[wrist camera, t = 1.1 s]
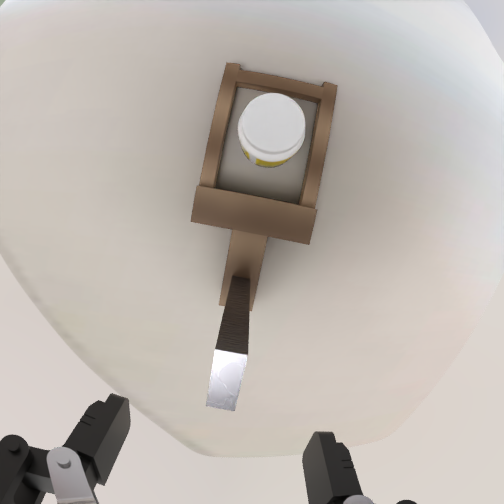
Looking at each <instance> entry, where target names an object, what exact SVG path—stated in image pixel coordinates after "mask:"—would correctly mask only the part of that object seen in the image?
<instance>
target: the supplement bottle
mask: <svg viewBox="0 0 504 504" xmlns="http://www.w3.org/2000/svg"><path fill="white" fill-rule="evenodd" d="M238 137H239V140H240V143H241V146H242V150H243V152H244V154H245V155H246V157H247V158H248V159H249V160H250V161H251V162H252V163H254V164H256V165H258V166H261V167H265V168H272V167H277V166H279V165H282V164H283V163H285V162H286V161H287V160H288V159H290V158H291V157H292V156H293V155H294V154H295V153H296V152H297V151H298V150H299V149H300V147H301V146H302V144H303V141H304V138H305V117H304V114H303V111H302V109H301V108H300V106H299V105H298V104H297V103H296V102H295V101H294V100H293V99H291V98H290V97H288V96H286V95H283V94H279V93H266V94H262V95H260V96H258V97H256V98H254V99H253V100H252V101H251V102H250V103H249V104H248V105H247V106H246V108H245V110H244V111H243V113H242V115H241V117H240V119H239V122H238Z"/></svg>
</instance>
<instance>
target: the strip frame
mask: <svg viewBox="0 0 504 504" xmlns="http://www.w3.org/2000/svg"><path fill="white" fill-rule="evenodd" d="M237 87H242V88H249V89H255V90H260V91H266V92H271V93H279V94H283V95H286V96H290V97H294V98H299V99H303V100H307V101H311V102H315V103H318V107H317V113H316V118H315V124H314V129H313V135H312V140H311V145H310V150H309V156H308V161H307V166H306V171H305V176H304V181H303V186H302V190H301V195H300V200H299V205H298V204H293V203H289V202H284V201H279V200H275V199H270V198H265V197H260V196H255V195H250V194H244V193H239V192H234V191H228V190H223V189H217V188H215V186H216V181H217V176H218V171H219V166H220V161H221V156H222V151H223V146H224V141H225V136H226V132H227V127H228V123H229V118H230V114H231V109H232V105H233V100H234V96H235V92H236V88H237ZM336 91H337V85H334V84H331V83H327V82H324V83H323V85H322V86H317V85H313V84H309V83H305V82H301V81H297V80H292V79H288V78H283V77H278V76H273V75H268V74H262V73H257V72H251V71H244V70H241V68H240V64H235V63H226V67H225V71H224V75H223V79H222V82H221V86H220V90H219V95H218V99H217V103H216V107H215V111H214V116H213V120H212V125H211V129H210V134H209V138H208V143H207V148H206V153H205V158H204V163H203V168H202V173H201V178H200V184H199V186H197V187H196V193H195V199H194V204H193V210H192V216H191V222H195V223H200V224H206V225H211V226H216V227H222V228H227V229H232V234H231V240H230V245H229V250H228V256H227V261H226V267H225V273H224V278H223V284H222V290H221V295H220V301H219V305H221V306H225V309H224V313H223V317H222V322H221V326H220V330H219V335H218V339H217V344H216V348H215V353H214V359H213V365H212V372H211V378H210V384H209V390H208V396H207V403H206V406H208V407H213V408H219V409H225V410H231V411H235V407H236V403H237V399H238V395H239V391H240V387H241V382H242V378H243V374H244V370H245V366H246V361H247V357H248V339H249V311H252V308H253V303H254V298H255V294H256V289H257V285H258V280H259V275H260V271H261V266H262V261H263V256H264V252H265V247H266V242H267V237H273V238H278V239H283V240H288V241H293V242H298V243H303V244H308V245H309V244H310V239H311V235H312V231H313V226H314V222H315V217H316V213H317V209H315V205H316V200H317V195H318V191H319V186H320V181H321V176H322V171H323V166H324V161H325V155H326V150H327V145H328V139H329V134H330V128H331V122H332V116H333V110H334V104H335V98H336Z"/></svg>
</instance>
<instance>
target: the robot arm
mask: <svg viewBox="0 0 504 504" xmlns="http://www.w3.org/2000/svg"><path fill="white" fill-rule="evenodd" d="M129 429H130V411H129V400H128V398H124V397H121V396H118V395H115V394H113V393H112V394H110V395H109V397H108V399H107V400H106V402H102V401H99V400H98V401H96V402H95V403H93V404H92V405H90V406H89V407H88V409H87V410H86V412H85V413H84V415H83V416H82V418H81V419H80V422H78V424H77V425H76V427H75V429H74V430H73V432H72V433H71V435H70V436H69V438H68V439H67V441H66V443H65V444H64V445H63V446H62V447H57V448H54V449H52V450H43V449H39V448H35V447H30V446H28V444H27V442H26V441H25V440H24V439H23V438H22V437H20V436H18V435H8V436H5V437H4V438H3V439H2V440H1V441H0V504H41V502H42V500H43V498H44V496H45V494H46V492H48V493H52V494H55V496H56V499H57V503H58V504H99V502H98V500H97V497H96V495H95V492H94V487H95V486H96V484H97V483H98V484H101V485H103V486H104V485H105V483H106V481H107V479H108V476H109V474H110V472H111V470H112V467H113V465H114V463H115V461H116V459H117V456H118V454H119V452H120V450H121V447H122V445H123V443H124V441H125V439H126V437H127V434H128V432H129ZM302 463H303V469H304V475H305V481H306V488H307V495H308V501H309V504H374V503H373V502H372V500H371V499H369V498H368V497H366V496H364V495H363V493H362V491H361V487H360V484H359V481H358V478H357V475H356V471H355V469H354V465H353V462H352V461H351V456H350V453H349V450H348V449H347V448H346V447H345V446H344V444H343V443H336V440H335V436H334V434H333V432H317V431H316V432H314V434H313V436H312V438H311V439H310V441H309V443H308V445H307V447H306V449H305V451H304V453H303V460H302ZM397 504H416V503H415V502H413V501H411V500H402V501H399V502H398V503H397Z"/></svg>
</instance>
